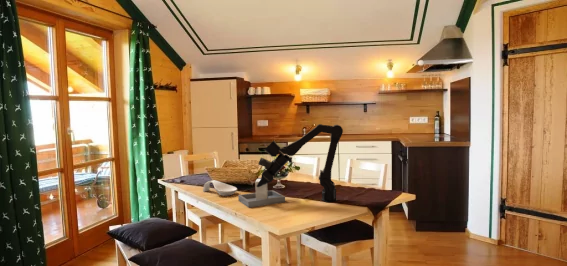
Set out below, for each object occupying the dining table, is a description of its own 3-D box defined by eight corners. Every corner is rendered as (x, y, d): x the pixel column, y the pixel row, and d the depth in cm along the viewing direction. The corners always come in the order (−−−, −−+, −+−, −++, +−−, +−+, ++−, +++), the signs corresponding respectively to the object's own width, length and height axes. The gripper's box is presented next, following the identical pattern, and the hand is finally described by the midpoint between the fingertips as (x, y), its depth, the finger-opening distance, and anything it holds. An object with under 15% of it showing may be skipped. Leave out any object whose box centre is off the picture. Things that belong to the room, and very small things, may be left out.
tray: (273, 195, 208) (272, 190, 208) (285, 202, 194) (285, 196, 194) (238, 200, 200) (238, 194, 200) (248, 207, 186) (248, 201, 185)
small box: (257, 197, 201) (256, 178, 200) (267, 197, 201) (267, 178, 200) (255, 201, 193) (254, 181, 192) (266, 201, 193) (265, 181, 192)
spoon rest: (241, 194, 216) (240, 181, 215) (226, 198, 206) (226, 185, 206) (212, 189, 230) (212, 177, 229) (197, 193, 220) (197, 181, 220)
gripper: (268, 150, 204) (249, 170, 205) (265, 155, 185) (244, 177, 187) (283, 164, 204) (264, 184, 206) (282, 170, 186) (260, 193, 187)
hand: (258, 184), depth 196 cm, fingers open, 9 cm apart
